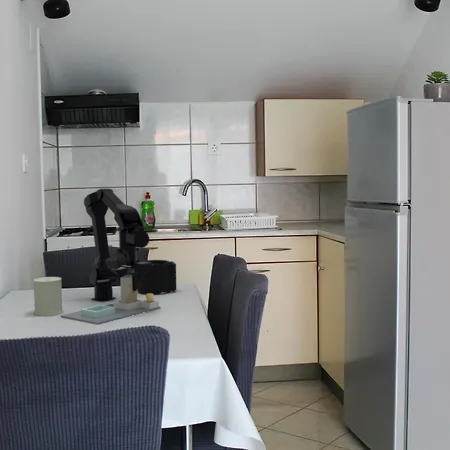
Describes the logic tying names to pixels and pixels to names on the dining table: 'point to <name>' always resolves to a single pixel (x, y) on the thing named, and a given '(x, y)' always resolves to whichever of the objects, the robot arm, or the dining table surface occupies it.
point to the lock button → (149, 298)
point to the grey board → (107, 312)
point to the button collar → (149, 304)
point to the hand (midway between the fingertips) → (128, 290)
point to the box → (127, 290)
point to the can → (48, 296)
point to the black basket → (159, 278)
